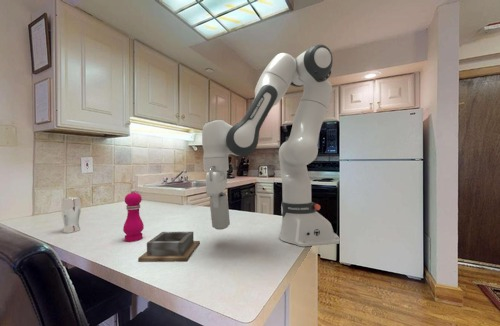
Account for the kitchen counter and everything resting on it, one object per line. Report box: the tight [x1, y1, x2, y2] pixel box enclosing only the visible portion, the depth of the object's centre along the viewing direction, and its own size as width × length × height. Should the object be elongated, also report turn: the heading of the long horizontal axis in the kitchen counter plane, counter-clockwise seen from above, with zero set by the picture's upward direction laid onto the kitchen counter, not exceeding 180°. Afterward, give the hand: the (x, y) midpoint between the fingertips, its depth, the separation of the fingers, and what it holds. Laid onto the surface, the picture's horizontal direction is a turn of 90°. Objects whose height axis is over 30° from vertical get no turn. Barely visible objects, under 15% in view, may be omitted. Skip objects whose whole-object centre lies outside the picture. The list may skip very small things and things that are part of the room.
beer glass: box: [60, 196, 82, 234], centre depth 100 cm, size 7×7×15 cm
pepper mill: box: [122, 188, 145, 243], centre depth 88 cm, size 7×7×20 cm
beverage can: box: [209, 192, 231, 231], centre depth 79 cm, size 6×6×12 cm
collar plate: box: [137, 231, 201, 263], centre depth 74 cm, size 15×15×5 cm
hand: (218, 205), depth 78 cm, fingers closed on beverage can, 6 cm apart
